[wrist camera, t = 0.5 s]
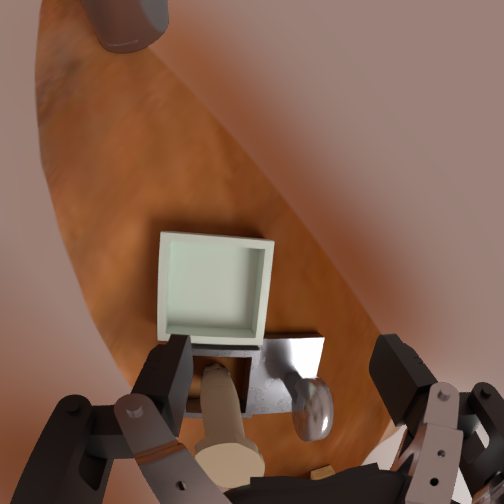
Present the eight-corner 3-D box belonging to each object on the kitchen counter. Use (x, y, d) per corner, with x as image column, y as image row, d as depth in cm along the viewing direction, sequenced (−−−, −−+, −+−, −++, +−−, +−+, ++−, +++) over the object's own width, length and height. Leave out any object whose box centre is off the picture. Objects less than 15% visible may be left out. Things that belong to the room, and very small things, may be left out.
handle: (223, 345, 30) (245, 435, 16) (243, 385, 31) (274, 476, 17) (185, 359, 30) (182, 454, 15) (208, 398, 31) (220, 492, 16)
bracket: (179, 330, 29) (171, 388, 18) (319, 333, 32) (368, 378, 21) (180, 406, 30) (178, 472, 19) (304, 403, 33) (338, 458, 22)
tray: (165, 230, 28) (160, 232, 24) (265, 238, 30) (274, 241, 26) (161, 327, 29) (157, 340, 25) (255, 332, 31) (262, 345, 27)
